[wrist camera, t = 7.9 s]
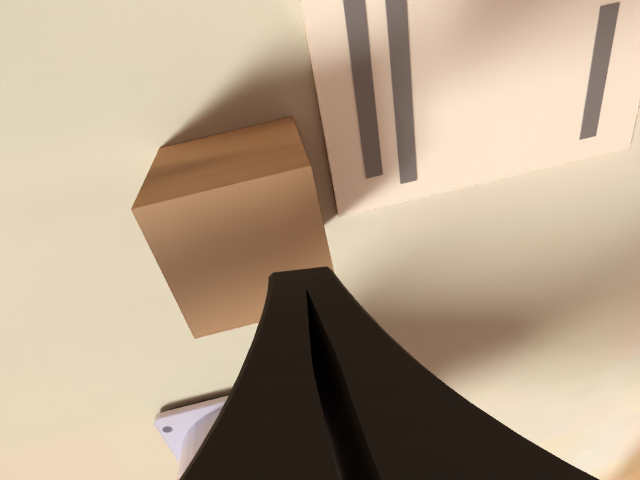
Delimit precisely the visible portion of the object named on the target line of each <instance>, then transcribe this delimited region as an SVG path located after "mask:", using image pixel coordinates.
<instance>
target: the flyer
mask: <svg viewBox="0 0 640 480" xmlns="http://www.w3.org/2000/svg"><path fill="white" fill-rule="evenodd" d="M300 3H301V8H302V14H303V19H304V25H305V31H306V36H307V42H308V48H309V53H310V59H311V65H312V70H313V76H314V82H315V87H316V93H317V98H318V104H319V110H320V115H321V121H322V127H323V132H324V138H325V144H326V149H327V155H328V160H329V166H330V172H331V177H332V183H333V189H334V194H335V200H336V206H337V211H338V216H339V217H343V216H347V215H351V214H355V213H360V212H364V211H368V210H372V209H377V208H381V207H385V206H389V205H393V204H398V203H402V202H406V201H410V200H414V199H419V198H423V197H427V196H431V195H436V194H440V193H444V192H448V191H452V190H457V189H461V188H465V187H469V186H474V185H478V184H482V183H486V182H490V181H495V180H499V179H503V178H507V177H511V176H516V175H520V174H524V173H528V172H533V171H537V170H541V169H545V168H549V167H554V166H558V165H562V164H566V163H570V162H575V161H579V160H583V159H587V158H592V157H596V156H600V155H604V154H608V153H613V152H617V151H621V150H625V149H629V147H630V143H631V138H632V134H633V129H634V125H635V121H636V116H637V112H638V107H639V103H640V0H300Z"/></svg>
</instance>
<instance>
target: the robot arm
mask: <svg viewBox="0 0 640 480" xmlns="http://www.w3.org/2000/svg"><path fill="white" fill-rule="evenodd" d="M154 425H155V427H156V428H157V430H158V431H159V433H160V435H161V436H162V438H163V439H164V441H165V442H166V444H167V445H168V447H169V448H170V450H171V452H172V453H173V455H174V456H175V458H176V459H177V461H178V462H179V470H178V478H177V480H599V479H597V478H595V477H593V476H591V475H589V474H587V473H585V472H584V471H582V470H580V469H578V468H576V467H574V466H572V465H570V464H569V463H567V462H565V461H563V460H562V459H560V458H558V457H556V456H555V455H553V454H551V453H550V452H548V451H546V450H544V449H543V448H541V447H539V446H538V445H536V444H534V443H532V442H531V441H529V440H527V439H526V438H524V437H522V436H521V435H519V434H517V433H516V432H514V431H513V430H511V429H510V428H508V427H507V426H505V425H504V424H502V423H501V422H499V421H498V420H496V419H495V418H493V417H492V416H490V415H489V414H487V413H486V412H484V411H483V410H481V409H479V408H478V407H476V406H475V405H473V404H472V403H470V402H469V401H468V400H466V399H465V398H464V397H462V396H461V395H460V394H458V393H457V392H455V391H454V390H453V389H451V388H450V387H449V386H447V385H446V384H445V383H444V382H442V381H441V380H440V379H439V378H437V377H436V376H435V375H434V374H432V373H431V372H430V371H428V370H427V369H426V368H425V367H424V366H423V365H421V364H420V363H419V362H418V361H417V360H416V359H414V358H413V357H412V356H411V355H410V354H409V353H408V352H407V351H405V350H404V349H403V348H402V347H401V346H400V345H399V344H398V343H397V342H396V341H395V340H394V339H393V338H391V337H390V336H389V335H388V334H387V333H386V332H385V331H384V330H383V329H382V328H381V327H380V326H379V324H378V323H377V322H376V321H375V320H374V319H373V318H372V317H371V316H370V315H369V314H368V313H367V312H366V311H365V310H364V309H363V307H362V306H361V305H360V304H359V303H358V302H357V301H356V300H355V298H354V297H353V296H352V295H351V294H350V293H349V291H348V290H347V289H346V288H345V286H344V285H343V284H342V283H341V281H340V280H339V279H338V277H337V276H336V275H335V273H334V272H333V271H332V270H331V269H330V268H329V267H328V266H325V267H316V268H308V269H299V270H290V271H281V272H273V273H272V274H271V275H270V276H269V277H268V290H267V296H266V300H265V304H264V308H263V312H262V315H261V318H260V321H259V324H258V327H257V330H256V333H255V336H254V339H253V342H252V344H251V347H250V349H249V352H248V354H247V356H246V359H245V361H244V363H243V366H242V368H241V371H240V373H239V375H238V377H237V379H236V382H235V384H234V386H233V388H232V390H231V392H230V394H229V395H228V396H224V397H220V398H216V399H213V400H209V401H205V402H201V403H197V404H193V405H189V406H185V407H181V408H177V409H173V410H169V411H165V412H161V413H159V414H157V415H156V417H155V421H154Z"/></svg>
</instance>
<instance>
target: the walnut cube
mask: <svg viewBox="0 0 640 480" xmlns="http://www.w3.org/2000/svg"><path fill="white" fill-rule="evenodd" d="M131 210H132V212H133V214H134V216H135V218H136V220H137V222H138V224H139V226H140V228H141V230H142V232H143V234H144V236H145V238H146V240H147V243H148V245H149V247H150V249H151V251H152V253H153V255H154V257H155V259H156V261H157V263H158V265H159V267H160V269H161V271H162V273H163V275H164V277H165V279H166V281H167V283H168V285H169V287H170V289H171V291H172V294H173V296H174V298H175V300H176V302H177V304H178V306H179V308H180V310H181V312H182V314H183V316H184V318H185V320H186V322H187V324H188V326H189V328H190V330H191V332H192V334H193V336H194V338H199V337H203V336H207V335H211V334H215V333H219V332H223V331H227V330H231V329H235V328H238V327H242V326H246V325H250V324H254V323H258V322H259V321H260V318H261V315H262V312H263V308H264V304H265V300H266V296H267V290H268V277H269V276H270V275H271V274H272V273H273V272H281V271H290V270H299V269H308V268H316V267H325V266H328V267H329V268H330V269H331V270H332V271H333V272H334V270H333V265H332V261H331V256H330V252H329V247H328V242H327V238H326V233H325V228H324V224H323V219H322V215H321V210H320V205H319V201H318V196H317V191H316V187H315V182H314V178H313V173H312V168H311V164H310V162H309V159H308V157H307V154H306V151H305V149H304V146H303V143H302V141H301V138H300V135H299V133H298V130H297V127H296V125H295V122H294V119H293V117H292V116H291V117H287V118H283V119H279V120H275V121H270V122H266V123H262V124H258V125H254V126H249V127H245V128H241V129H237V130H233V131H229V132H224V133H220V134H216V135H212V136H208V137H204V138H199V139H195V140H191V141H187V142H183V143H178V144H174V145H170V146H166V147H162V148H159V150H158V152H157V155H156V157H155V159H154V161H153V163H152V165H151V167H150V170H149V172H148V174H147V176H146V178H145V180H144V183H143V185H142V187H141V189H140V191H139V193H138V196H137V198H136V200H135V202H134V204H133V206H132V209H131Z"/></svg>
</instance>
